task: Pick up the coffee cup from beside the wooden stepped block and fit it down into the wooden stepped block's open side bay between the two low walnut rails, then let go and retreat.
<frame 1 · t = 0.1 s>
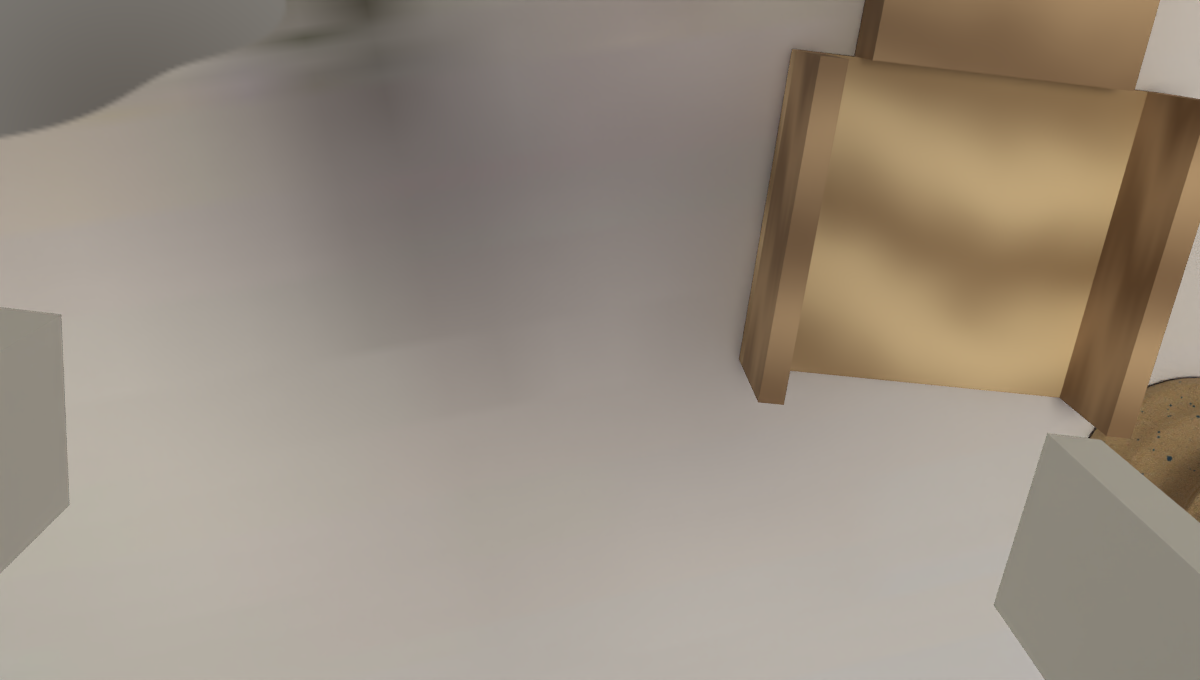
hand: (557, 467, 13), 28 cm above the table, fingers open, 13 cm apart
candle holder: (1168, 462, 45), on the table
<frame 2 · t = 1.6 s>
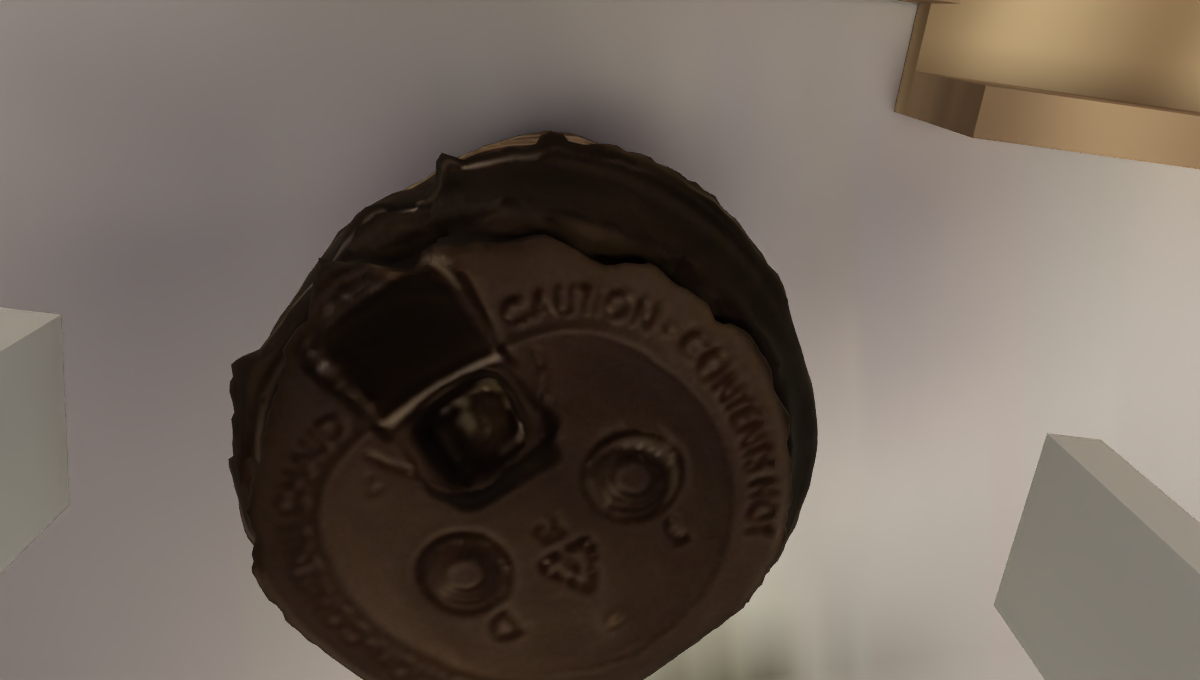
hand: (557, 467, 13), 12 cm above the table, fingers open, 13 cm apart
coffee cup: (544, 247, 25), on the table
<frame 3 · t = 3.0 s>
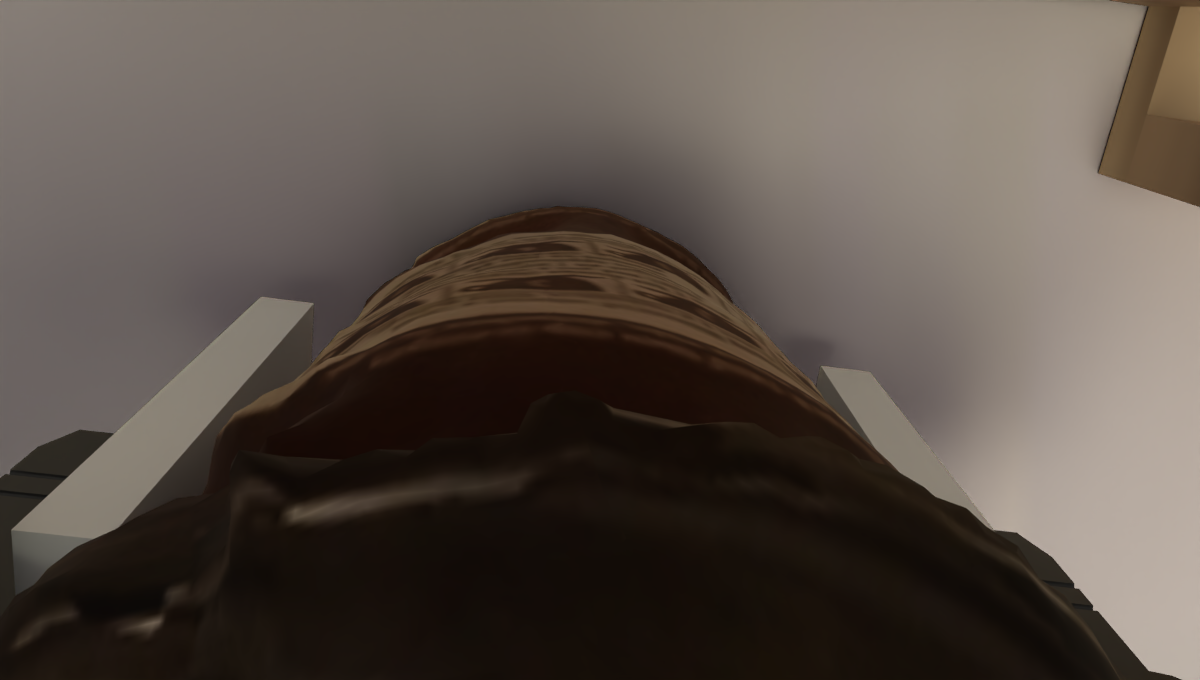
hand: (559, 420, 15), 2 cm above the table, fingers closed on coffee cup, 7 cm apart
coffee cup: (556, 374, 16), on the table, touching gripper
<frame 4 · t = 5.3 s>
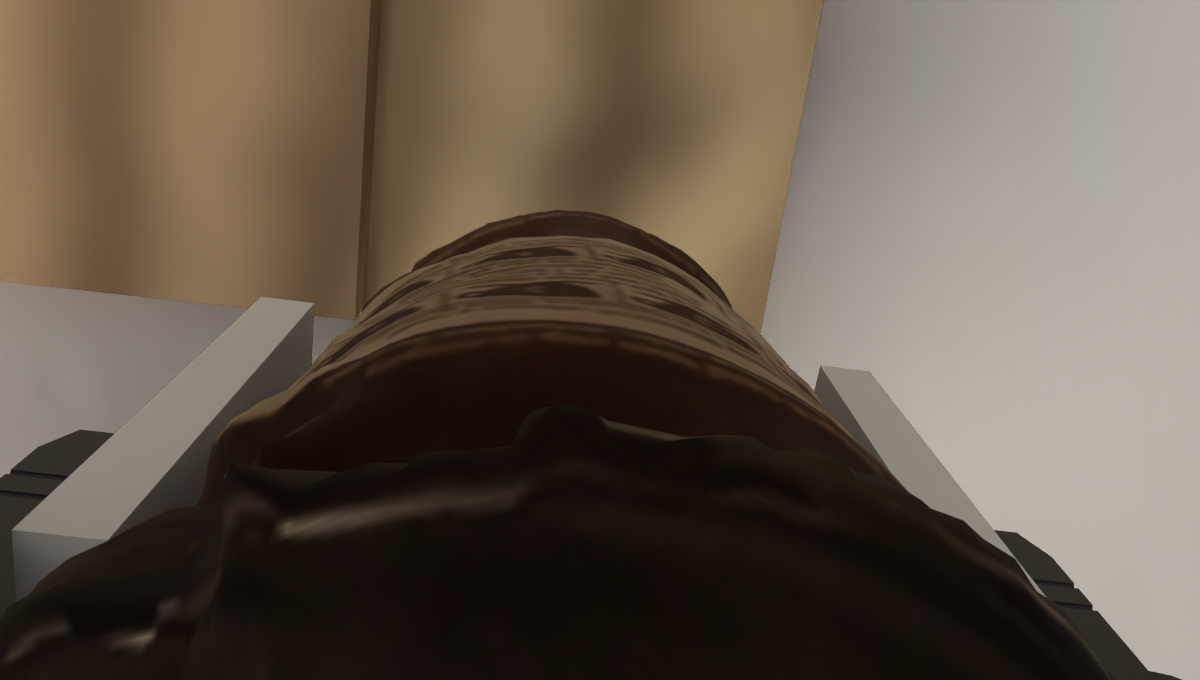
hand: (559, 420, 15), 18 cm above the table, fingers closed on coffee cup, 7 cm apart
wooden stepped block: (118, 114, 30), on the table
coffee cup: (554, 377, 16), point 16 cm above the table, touching gripper
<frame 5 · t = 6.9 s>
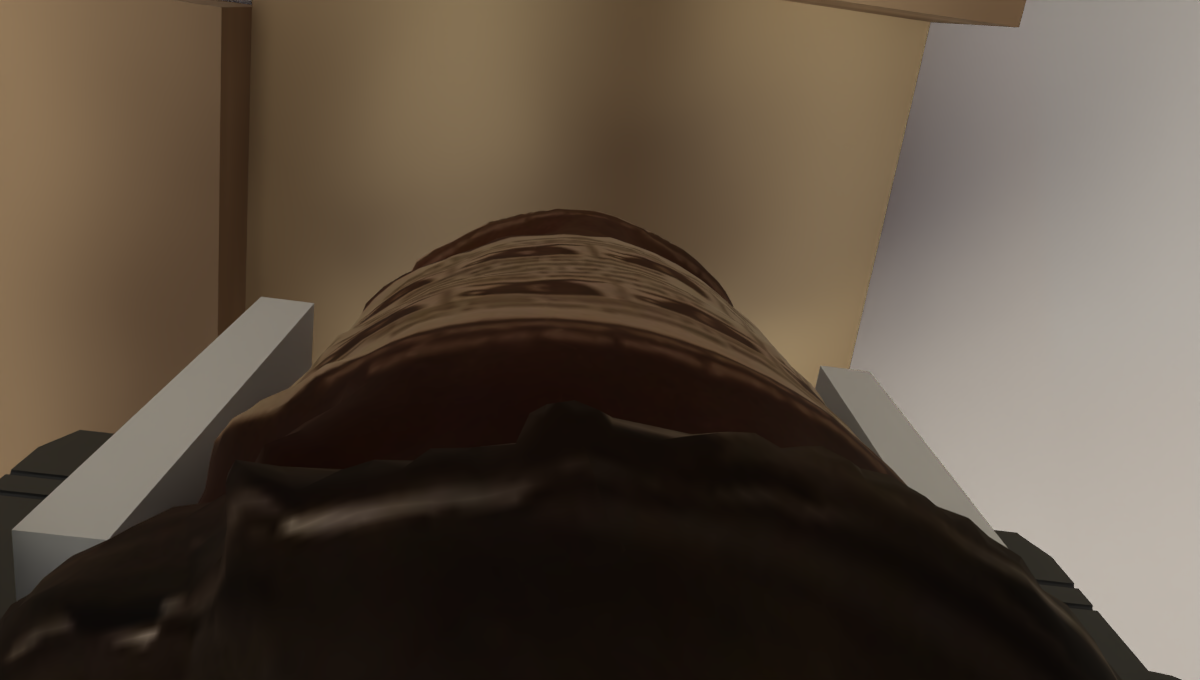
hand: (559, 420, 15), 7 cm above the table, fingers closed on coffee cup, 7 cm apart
coffee cup: (556, 376, 16), point 5 cm above the table, touching gripper
when the fingers open (4 cm above the table, at t = 7.8 s): coffee cup drops 2 cm, resting on wooden stepped block.
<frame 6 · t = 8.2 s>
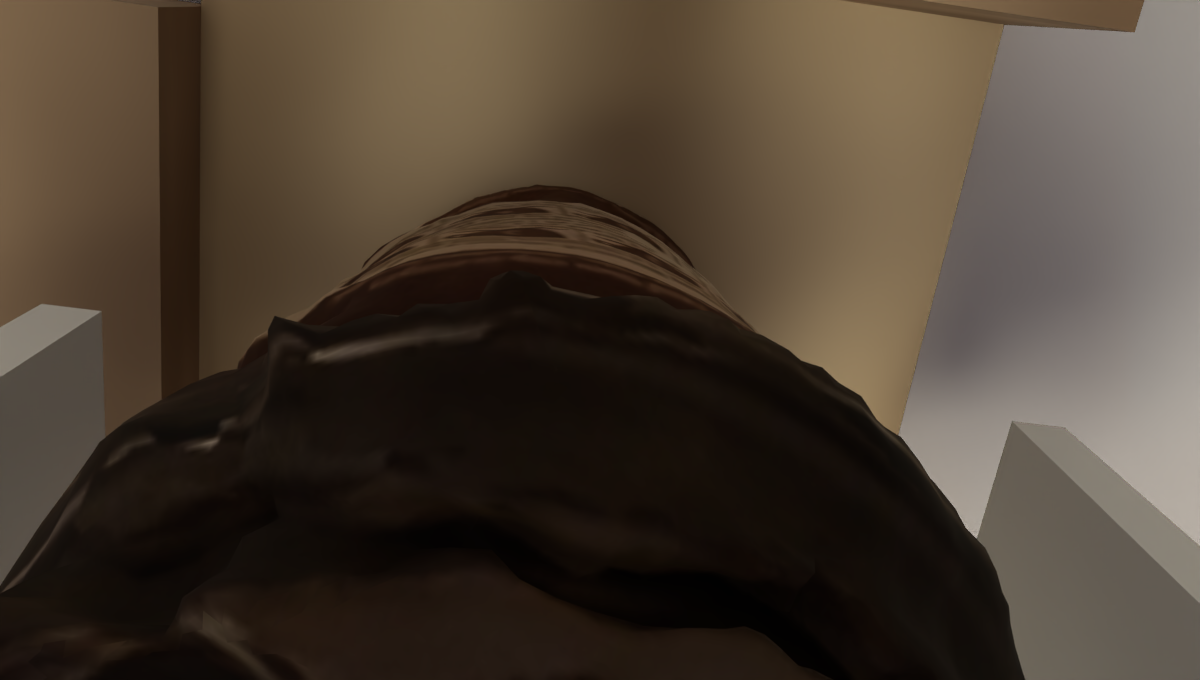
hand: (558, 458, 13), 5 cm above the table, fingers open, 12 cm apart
coffee cup: (537, 341, 18), point 1 cm above the table, touching wooden stepped block
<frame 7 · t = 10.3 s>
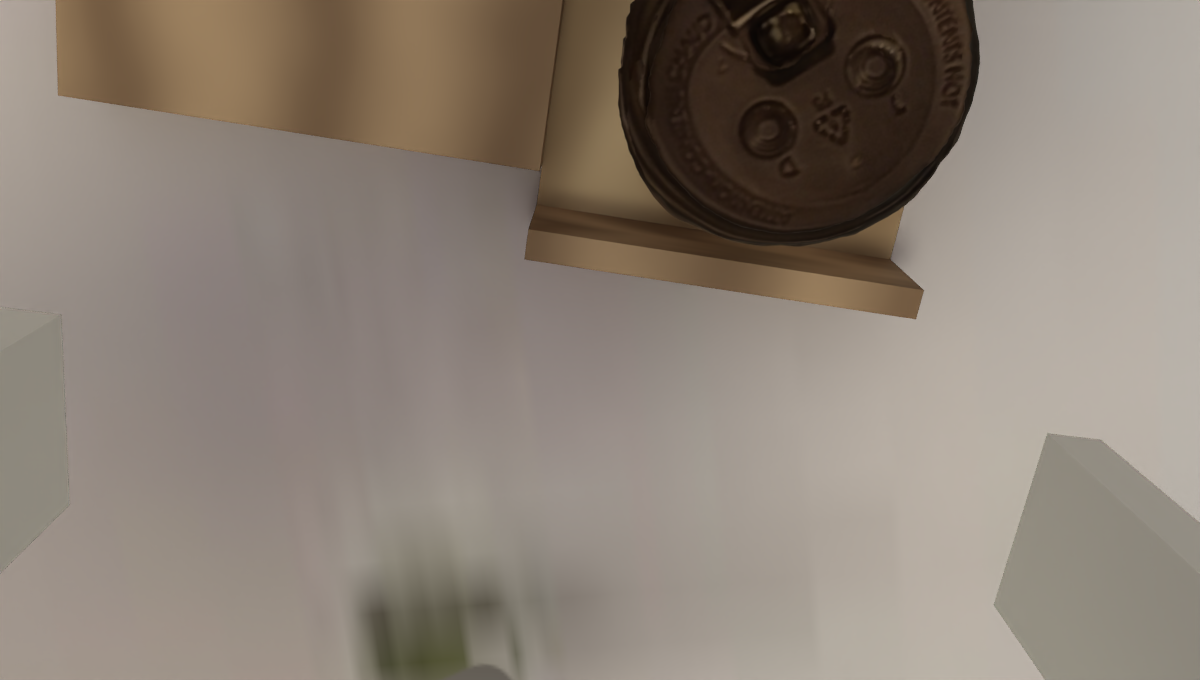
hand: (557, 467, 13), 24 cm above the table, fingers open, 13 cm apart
coffee cup: (737, 45, 33), point 1 cm above the table, touching wooden stepped block
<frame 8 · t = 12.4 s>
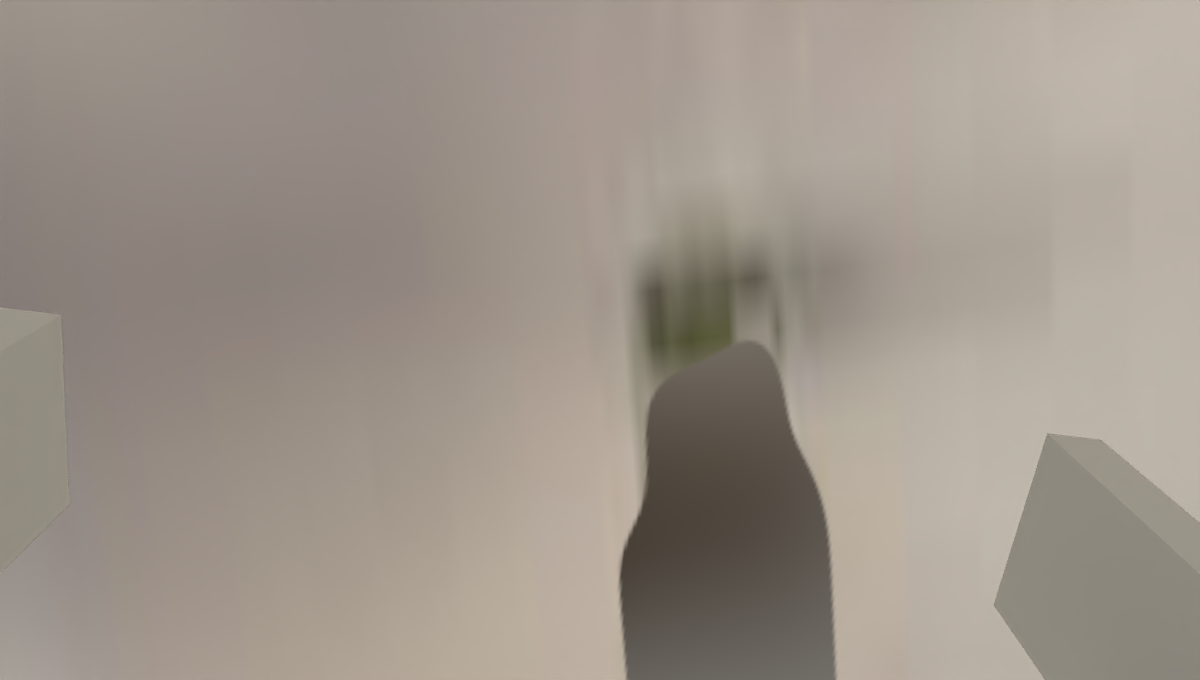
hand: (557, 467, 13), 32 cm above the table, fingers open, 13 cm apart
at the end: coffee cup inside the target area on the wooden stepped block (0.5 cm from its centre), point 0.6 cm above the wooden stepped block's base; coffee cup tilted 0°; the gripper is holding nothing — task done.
